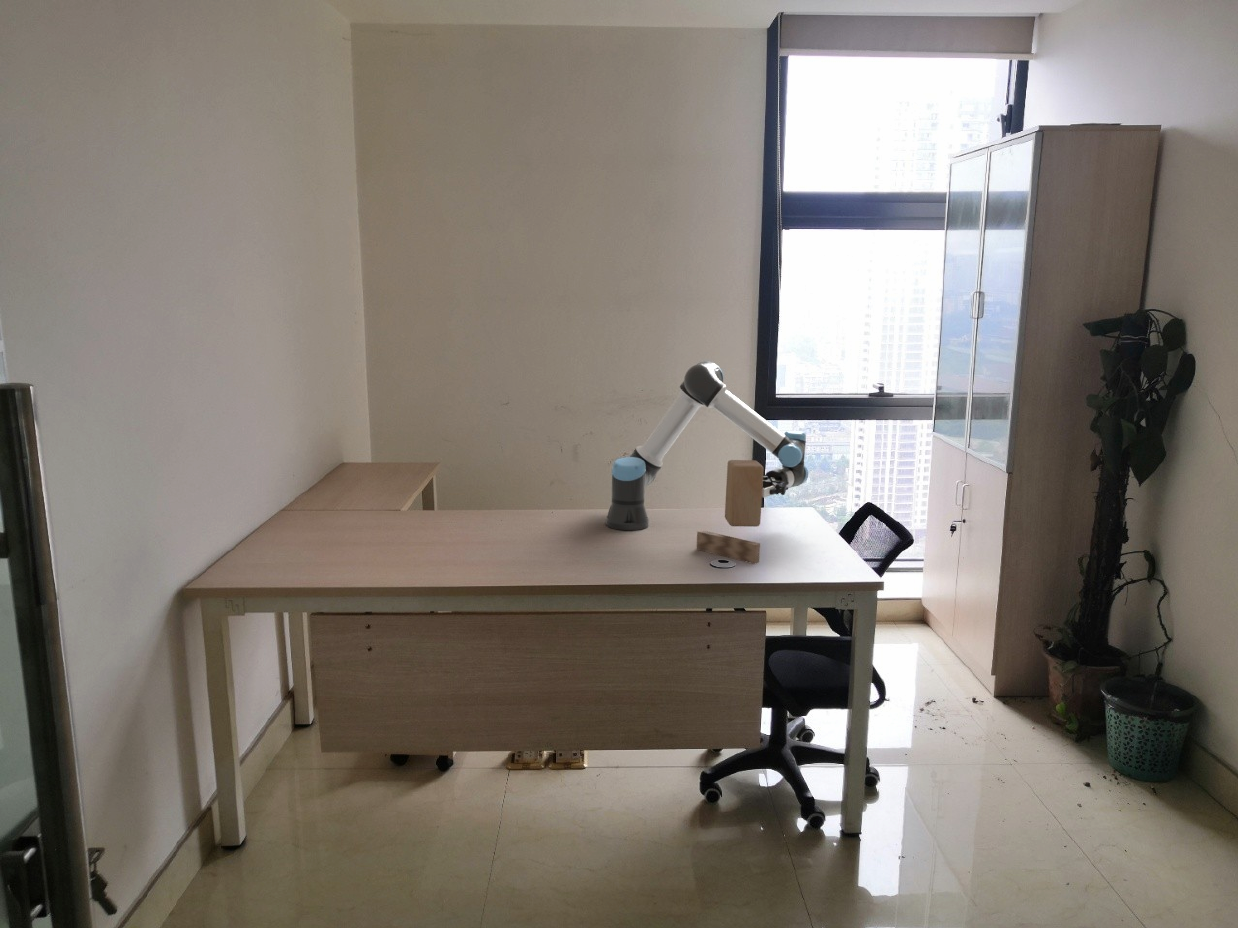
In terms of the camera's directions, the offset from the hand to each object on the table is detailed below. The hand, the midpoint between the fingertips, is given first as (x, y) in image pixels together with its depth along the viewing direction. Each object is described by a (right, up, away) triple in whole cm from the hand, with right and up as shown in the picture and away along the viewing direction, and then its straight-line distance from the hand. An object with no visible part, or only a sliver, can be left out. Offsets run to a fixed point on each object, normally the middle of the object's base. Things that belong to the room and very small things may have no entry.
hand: (745, 489), depth 289 cm
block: (-1, -11, +2) cm, 11 cm away
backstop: (-6, -21, -4) cm, 22 cm away
